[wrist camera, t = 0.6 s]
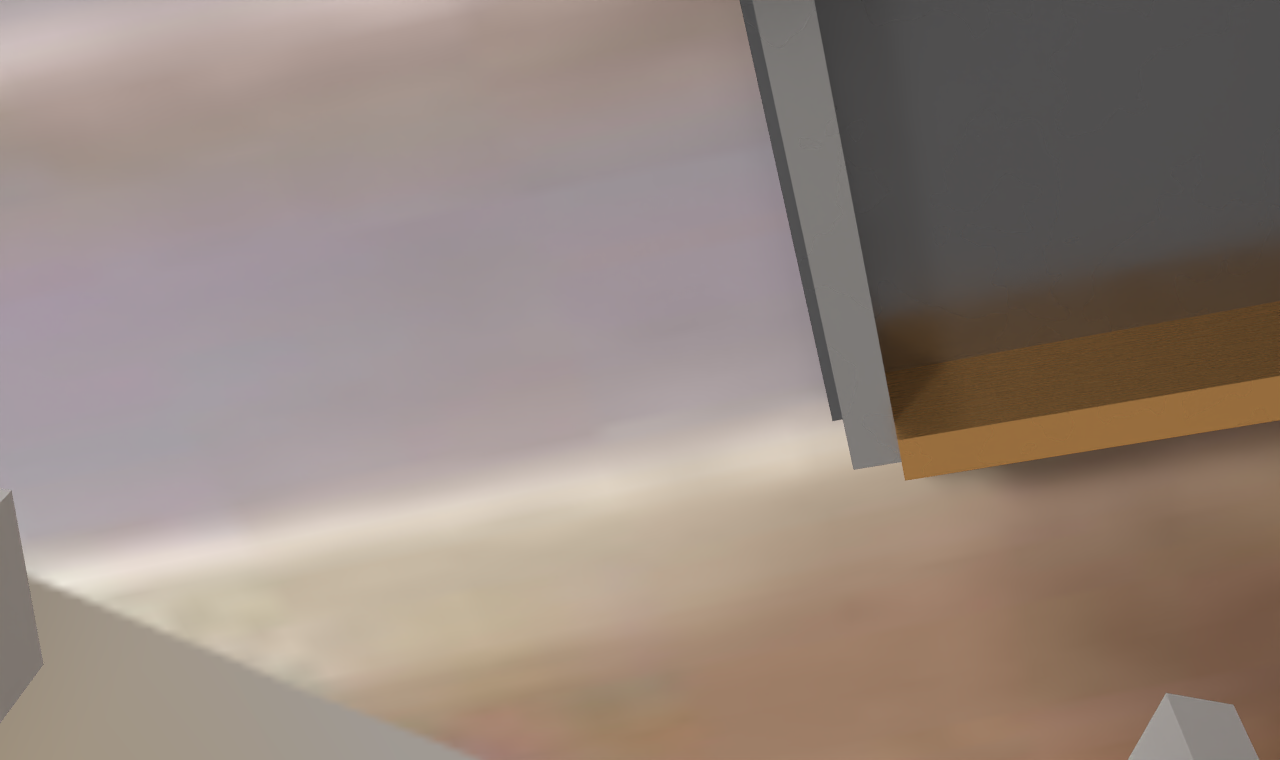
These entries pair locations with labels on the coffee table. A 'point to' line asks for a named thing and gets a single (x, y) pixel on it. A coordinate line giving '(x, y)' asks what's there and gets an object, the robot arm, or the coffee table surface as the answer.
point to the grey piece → (1030, 218)
